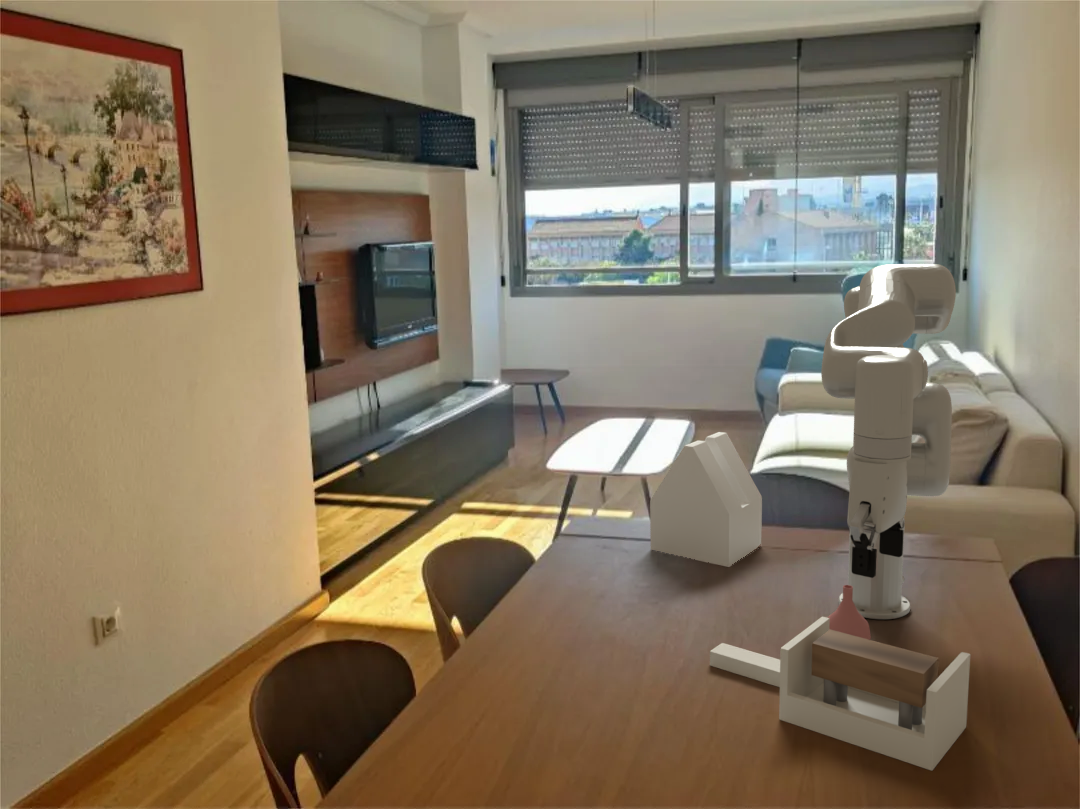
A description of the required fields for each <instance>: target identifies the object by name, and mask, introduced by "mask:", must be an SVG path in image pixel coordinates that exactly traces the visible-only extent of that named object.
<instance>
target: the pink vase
mask: <svg viewBox="0 0 1080 809" xmlns="http://www.w3.org/2000/svg"><path fill="white" fill-rule="evenodd" d="M842 593H843V600H842V602H841V603H840V605H838V606H837V608H836V610H834V612H832V613H831V614H829V615H828V616H826V618H830V623H829V630H834V631H838V632H842V633H846V634H849V635H853V636H857V637H861V638H865V639H868V640H871V639H872V636H871V635H872V634H871V630H870V629H871V628H870V624H869V622H868V620H866V619H865V617H863V616H862V615H861V614H860V613H859V612H858V610H857V608H856V606H855V604H854V602H853V600H852V597H853V586H851V585H848V584H844V585H842Z"/></svg>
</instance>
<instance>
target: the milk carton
mask: <svg viewBox="0 0 1080 809" xmlns="http://www.w3.org/2000/svg"><path fill="white" fill-rule="evenodd" d="M762 499H763V496H762V495H761V492H760V491H759V489H758V487H757V486H756V484H755V482H754V480H753V478H752V477H751V475H750V472H749V471H748V469H747V467H746V466H745V464H744V461H743V460H742V458H741V456H740V454H739V452H738V451H737V449H736V447H735V445H734V443H733V441H732V439H731V438H730V437H729V435H728V432H722V431H718V432H715V433H712V434H710V435H707V436H705V438H704V440H700V439H699V440H698V439H697V440H696V441H693V442H690V443H687V444H685V445H684V446H683V447H682V449H681V451H680V452H679V454H678V456H677V457H676V458H675V460H674V462H673V464H671V467H670V468H669V470H668V472H667V473H666V474H665V476H664V477H663V479H662V481H661V482H660V484H659V485H658V487H657V489H656V490H655V493H654V494H653V495H652V497H651V499H650V500H649V512H650V513H649V515H650V516H649V517H650V518H649V519H650V525H649V526H650V528H649V529H650V530H649V531H650V532H649V533H650V535H649V536H650V550H651V549H652V550H656V551H655V552H657V551H661V552H660V553H662V552H665V553H664V554H666V553H669V554H668V555H671V554H674V555H673V556H676V555H678V556H677V557H680V556H683V557H682V558H685V557H687V558H686V559H689V558H691V560H694V559H695V561H700V562H704V563H708V562H709V563H708V564H712V565H719V566H723V567H728V568H730V567H732V566H733V565H735V564H736V563H737V561H738V560H739V561H741V560H742V559H744V558H745V556H746V555H747V554H749V553H750V552H752V551H753V550H754V549H756V548H757V547H758V546H759V545H760V544H761V545H762V528H763V527H762V522H763V521H762V520H763V518H762V517H763V515H762V514H763V500H762ZM652 550H651V551H652ZM753 552H754V551H753ZM753 552H752V553H753ZM750 554H751V553H750ZM750 554H749V555H750ZM747 556H748V555H747ZM747 556H746V557H747ZM743 557H744V558H743ZM741 558H742V559H741ZM740 559H741V560H740ZM739 561H738V562H739ZM735 562H736V563H735ZM734 563H735V564H734ZM732 564H733V565H732Z"/></svg>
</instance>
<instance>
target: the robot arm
mask: <svg viewBox="0 0 1080 809" xmlns="http://www.w3.org/2000/svg"><path fill="white" fill-rule="evenodd" d="M956 293H957V291H956V283H955V279H954V276H953V273H951V271H950V270H949V268H947V267H946V266H944V265H942V264H938V263H905V264H904V263H897V264H896V263H895V264H894V263H893V264H891V263H889V264H882V265H878V266H874V267H873V268H871V269H869V270H867V272H866V273H865V274H864V275H863V277H861V280H860V283H859V285H858V286H856V287H852V288H851V289H849V290H848V291H847V292H846V294H845V296H844V301H843V309H844V316H845V317H844V319H843V320H840V321H839V322H838V323H837V324H835V325H834V326H833V327H832V329H830V331H829V332H828V335H827V337H826V339H825V342H824V347H823V354H822V359H821V360H822V361H821V370H820V371H821V374H820V375H821V384H822V386H823V388H824V390H825V392H826V393H827V394H828V395H830V396H831V397H833V398H837V399H845V400H846V399H847V400H848V399H851V400H854V411H853V414H854V416H853V443H852V444H853V445H852V447H850V448H849V451H848V452H847V455H846V456H847V457H846V472H847V481H848V489H849V496H848V506H847V517H846V518H847V526H848V528H849V536H848V537H849V538H848V539H849V540H848V541H849V544H848V545H849V546H848V567H847V569H848V574H847V577H848V578H847V585H851V586H853V597H852V600H853V602H854V604H855V606H856V608H857V610H858V612H859V613H860V614H861V615H862V616H863V617H864V619H865V618H866V619H872V620H892V619H895V620H896V619H899V618H902V617H904V616H907V615H908V614H909V613H910V610H911V603H910V601H909V599H908V598H906V597H904V596H903V594H902V592H903V591H902V590H903V584H904V582H905V577H904V576H903V567H904V566H903V564H904V549H905V548H904V547H905V546H904V544H905V530H906V529H905V528H906V527H905V522H906V521H905V515H906V512H907V502H908V499H907V498H908V496H911V497H912V496H913V497H914V496H915V497H939V496H941V495H942V496H943V494H944V493H945V492H946V491H947V489H948V487H949V484H950V478H951V459H952V458H951V456H952V454H951V453H952V433H953V432H952V431H953V430H952V427H953V426H952V425H953V406H952V398H951V394H950V392H949V390H948V388H946V386H944V385H942V384H941V383H937V382H936V383H935V382H929V381H928V378H929V370H928V369H929V366H928V362H927V360H926V359H925V358H924V355H922V353H921V352H919V350H917V349H914V348H911V347H905V346H904V343H905V344H906V342H907V341H908V340H909V339H910V338H911V336H912V335H914V334H918V335H919V334H921V335H923V334H924V335H925V334H926V335H933V334H934V335H935V334H940V333H942V332H944V331H945V330H946V329H947V327H948V326H949V324H950V322H951V318H952V314H953V311H954V308H955V302H956V296H957V295H956ZM912 436H918V437H921V438H922V439H923V440H924V442H913V439H912V438H913V437H912ZM842 600H843V592H842V593H841V594H840V595H839V597H838V604H839V605H840V603H841V602H842ZM839 605H838V606H839Z"/></svg>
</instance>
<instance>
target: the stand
mask: <svg viewBox="0 0 1080 809" xmlns="http://www.w3.org/2000/svg"><path fill="white" fill-rule="evenodd" d="M829 623H830V618H827V616H821V617H820V618H818V619H817V620H815V621H814V622H813V623H812V624H810V625H809V626H808V627H806V628H805V629H803V630H802V631H801V632H800V633H799V634H797V635H795V636H794V637H793V638H792V639H791V640H789V641H787V642H786V643H785V644H784V645H783V646H781V647H780V651H779V652H780V653H779V654H780V655H779V657H780V658H779V660H780V687H779V707H778V708H779V709H778V710H779V711H778V712H779V713H778V715H779V716H778V717H779V718H778V719H779V720H780V721H783V722H785V723H789V724H790V725H791V724H792V725H794V726H798V727H801V728H804V729H807V730H809V731H813V732H816V733H818V734H822V735H825V736H827V737H830V738H834V739H836V740H839V741H842V742H846V743H847V744H852V745H854V746H856V747H860V748H864V749H866V750H869V751H872V752H875V753H877V754H882V755H884V756H887V757H890V758H893V759H896V760H899V761H902V762H905V763H908V764H910V765H914V766H917V767H920V768H922V769H926V770H928V771H933V770H935V768H936V767H937V765H938V764H939V763H940V761H942V759H943V757H944V756H945V755H946V753H948V751H949V750H950V749H951V748H952V746H953V745H954V743H955V742H956V741H957V739H959V737H960V736H961V735H962V733H963V732H964V731H965V729H966V728H967V720H968V702H969V683H970V668H971V654H970V653H968V652H964V651H961V652H960V653H959V654H958V655H957V656H956V657H955V658H954V660H952V662H950V664H949V665H948V666H947V667H946V668H945V669H944V671H942V673H940V675H938V678H937V679H936V680H935V681H934V682H933V684H932V685H931V686H930V687H929V688H928V689H927V695H926V704H925V705H924V706H923V707H922V708H920V707H917V706H914V705H910V704H907V703H904V702H900V701H897V700H893V699H890V698H887V697H883V696H880V695H877V694H873V693H870V692H867V691H863V690H860V689H857V688H853V687H850V686H847V685H843V684H840V683H836V682H833V681H830V680H826V679H823V678H820V677H816V676H813V675H811V672H812V643H813V642H814V641H816V640H817V639H818V638H819V637H821V636H822V635H823V634H825V633H826V632H827V631H828V630H829Z"/></svg>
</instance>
